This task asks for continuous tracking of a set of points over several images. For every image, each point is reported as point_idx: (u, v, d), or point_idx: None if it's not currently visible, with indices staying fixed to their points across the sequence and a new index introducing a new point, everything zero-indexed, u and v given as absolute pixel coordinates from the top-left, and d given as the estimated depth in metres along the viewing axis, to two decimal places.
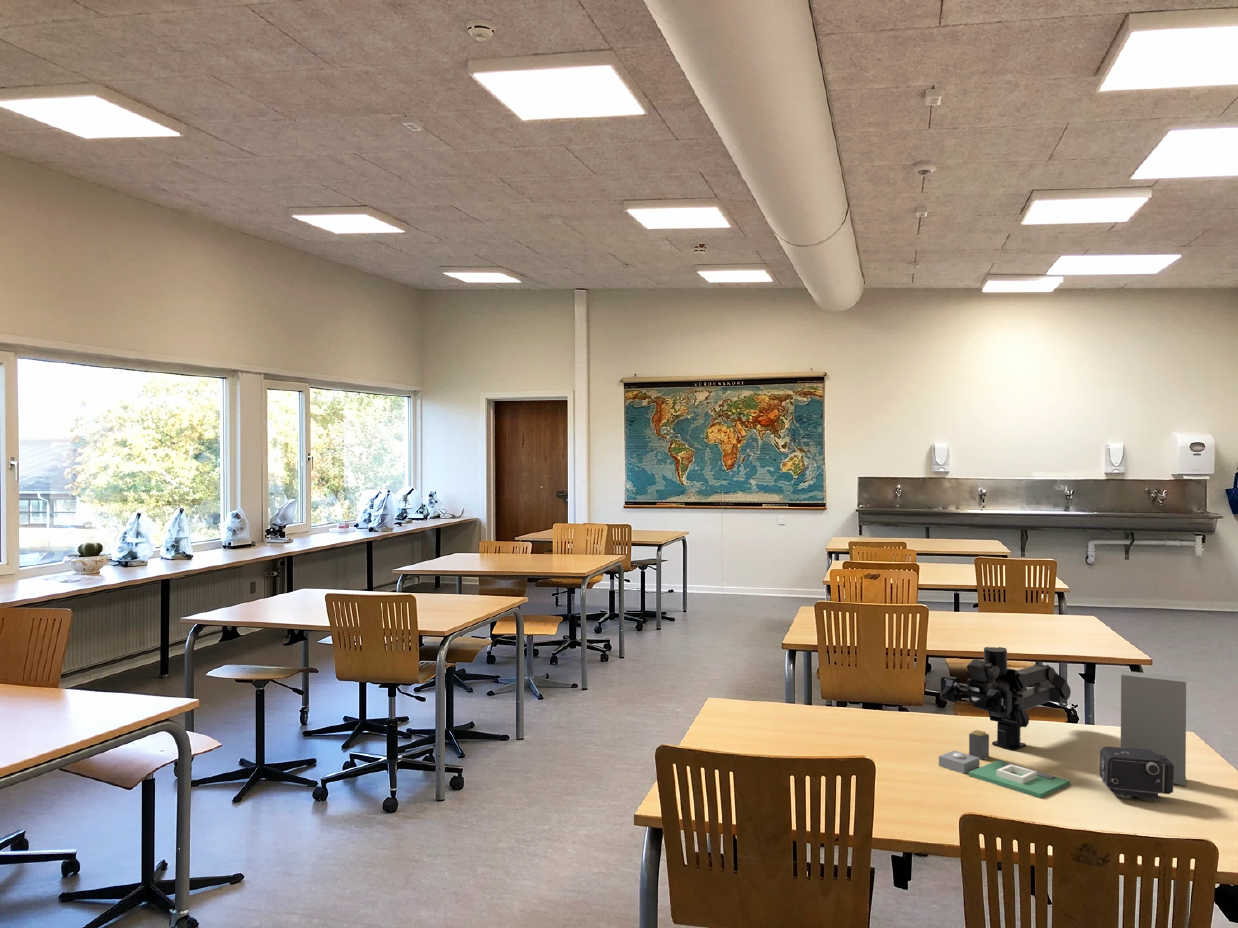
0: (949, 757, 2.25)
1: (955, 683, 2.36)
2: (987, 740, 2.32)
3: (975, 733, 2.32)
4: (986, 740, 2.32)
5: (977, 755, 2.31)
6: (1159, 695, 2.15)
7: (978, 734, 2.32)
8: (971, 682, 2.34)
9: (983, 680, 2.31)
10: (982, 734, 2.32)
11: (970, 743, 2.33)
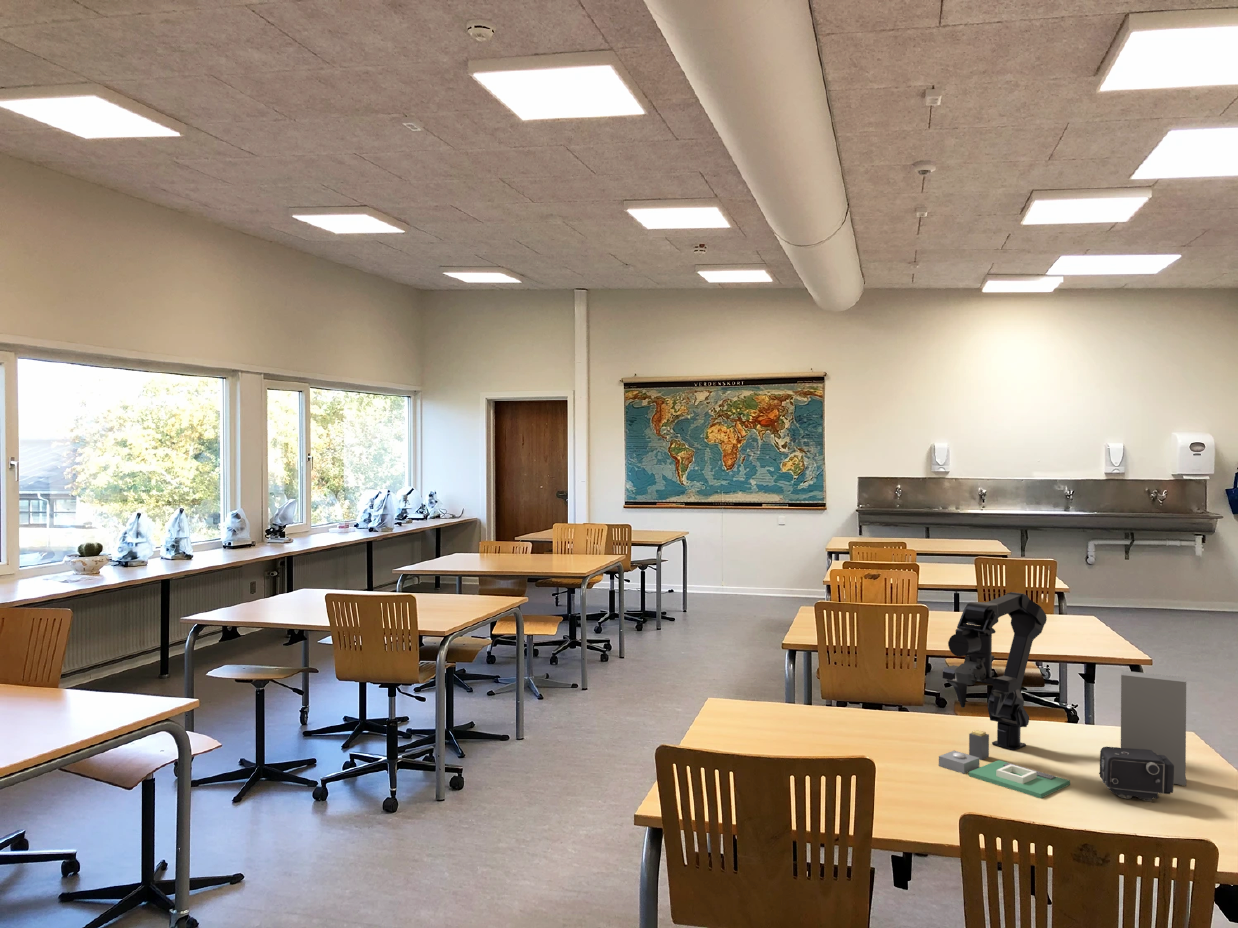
0: (949, 757, 2.25)
1: None
2: (987, 740, 2.32)
3: (975, 733, 2.32)
4: (986, 740, 2.32)
5: (977, 755, 2.31)
6: (1159, 695, 2.15)
7: (978, 734, 2.32)
8: None
9: None
10: (982, 734, 2.32)
11: (970, 743, 2.33)
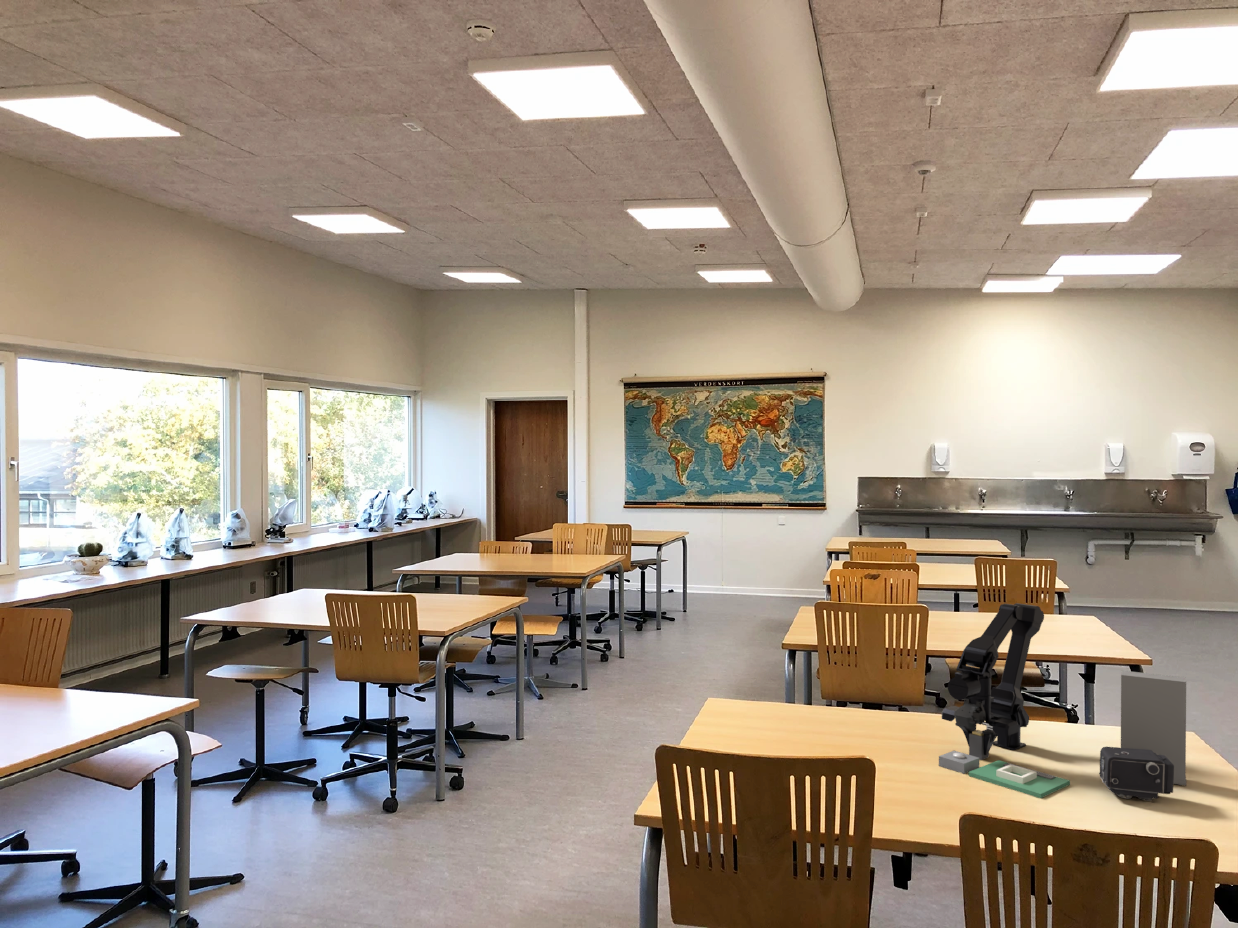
0: (949, 757, 2.25)
1: None
2: None
3: (975, 733, 2.32)
4: None
5: (977, 755, 2.31)
6: (1159, 695, 2.15)
7: (978, 734, 2.32)
8: None
9: None
10: (982, 734, 2.32)
11: (970, 743, 2.33)
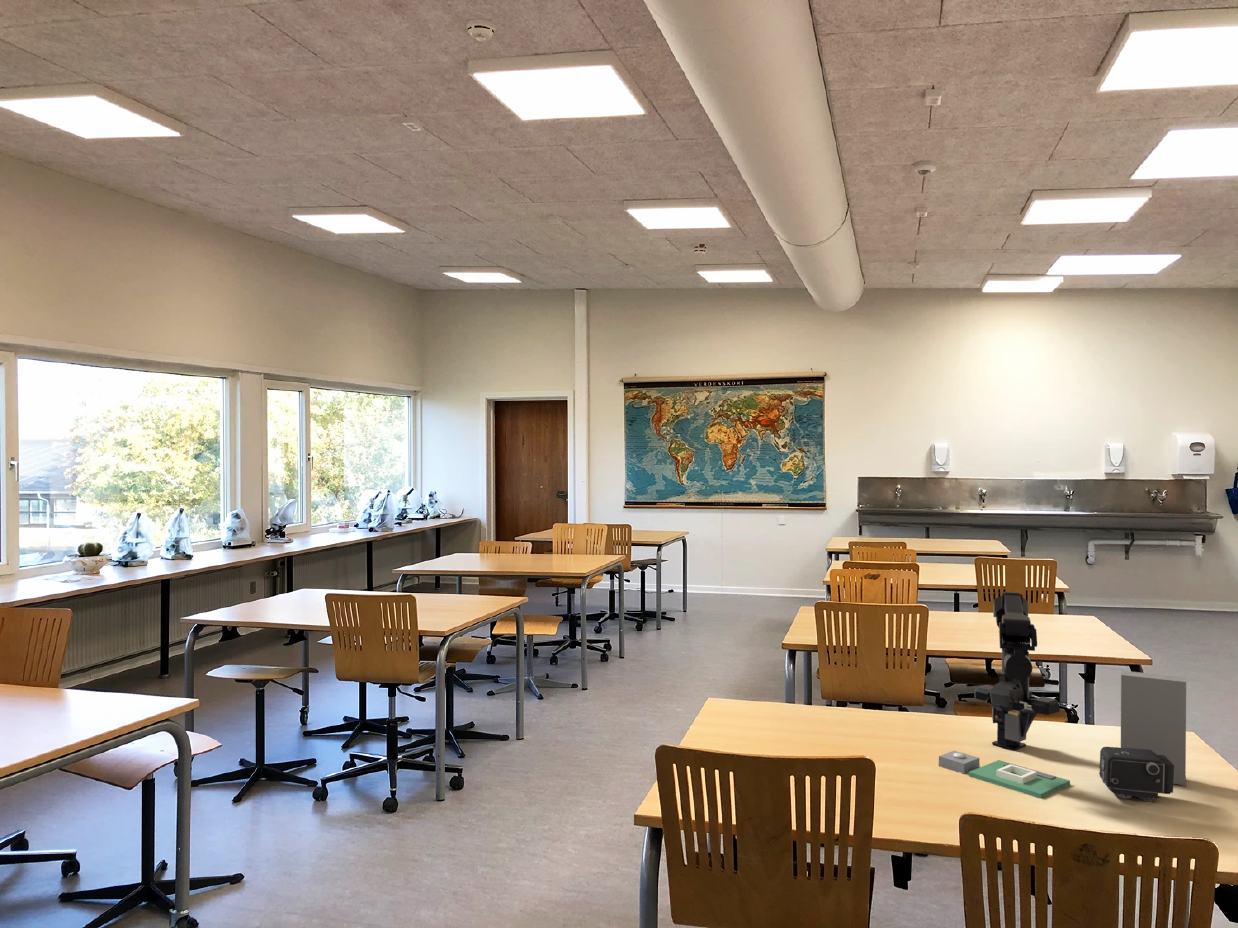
0: (949, 757, 2.25)
1: None
2: None
3: (1011, 713, 2.15)
4: None
5: (1014, 737, 2.14)
6: (1159, 695, 2.15)
7: (1015, 714, 2.14)
8: None
9: None
10: (1019, 714, 2.14)
11: (1006, 724, 2.16)
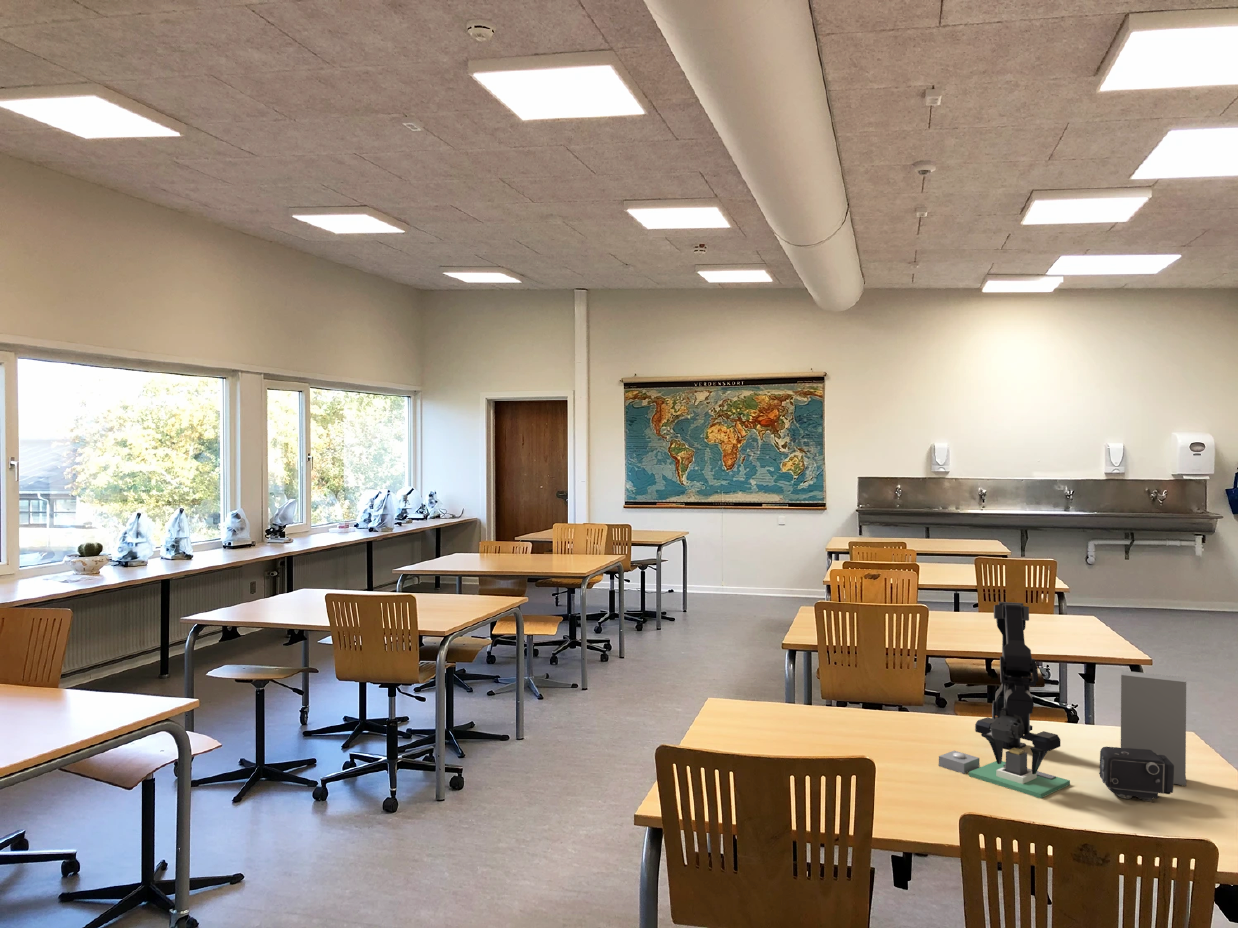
0: (949, 757, 2.25)
1: None
2: (1025, 759, 2.15)
3: (1012, 751, 2.15)
4: (1024, 759, 2.15)
5: None
6: (1159, 695, 2.15)
7: (1016, 752, 2.14)
8: None
9: None
10: (1020, 752, 2.14)
11: (1007, 762, 2.16)
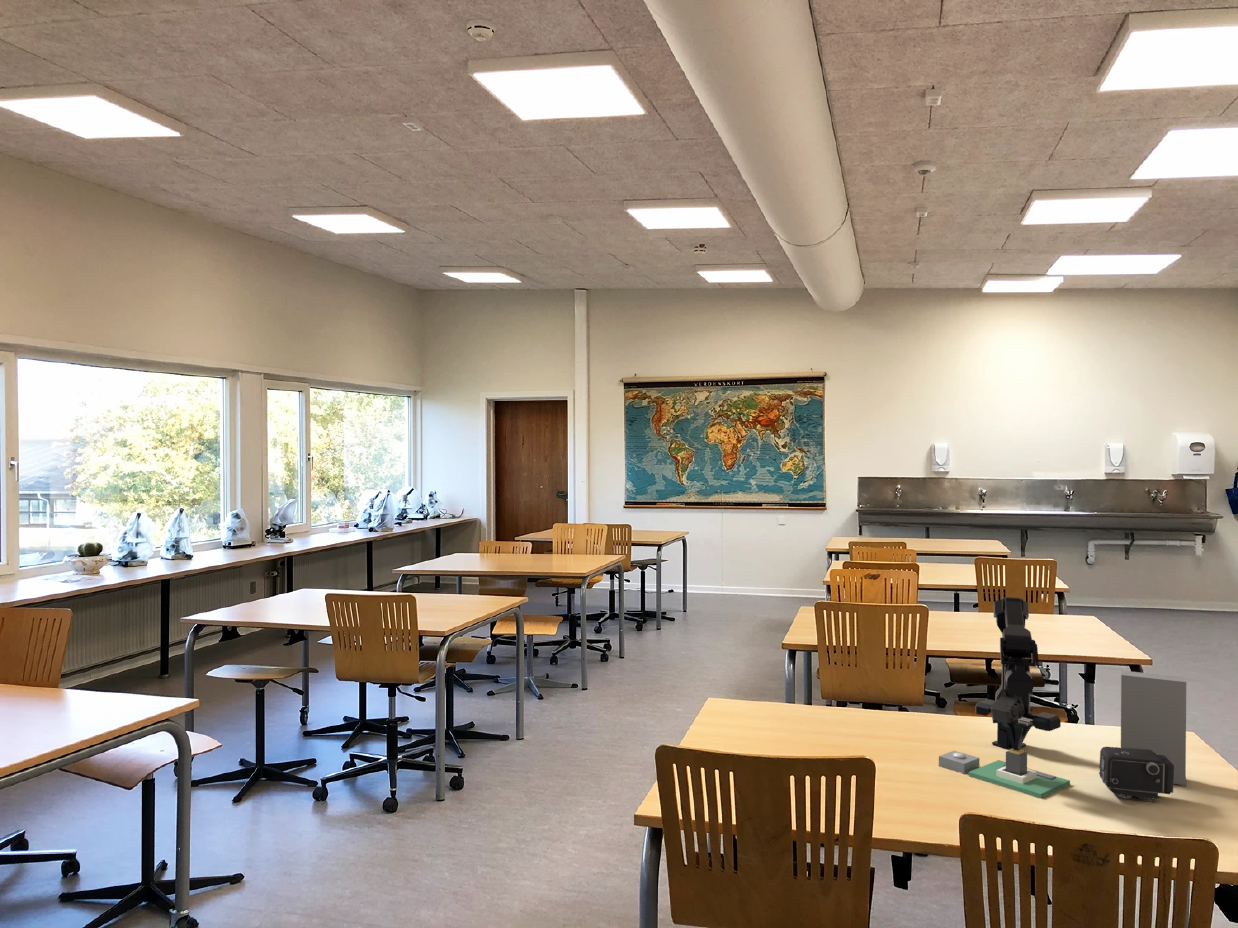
0: (949, 757, 2.25)
1: None
2: (1025, 759, 2.15)
3: (1012, 751, 2.15)
4: (1024, 759, 2.15)
5: None
6: (1159, 695, 2.15)
7: (1016, 752, 2.14)
8: None
9: None
10: (1020, 752, 2.14)
11: (1007, 762, 2.16)
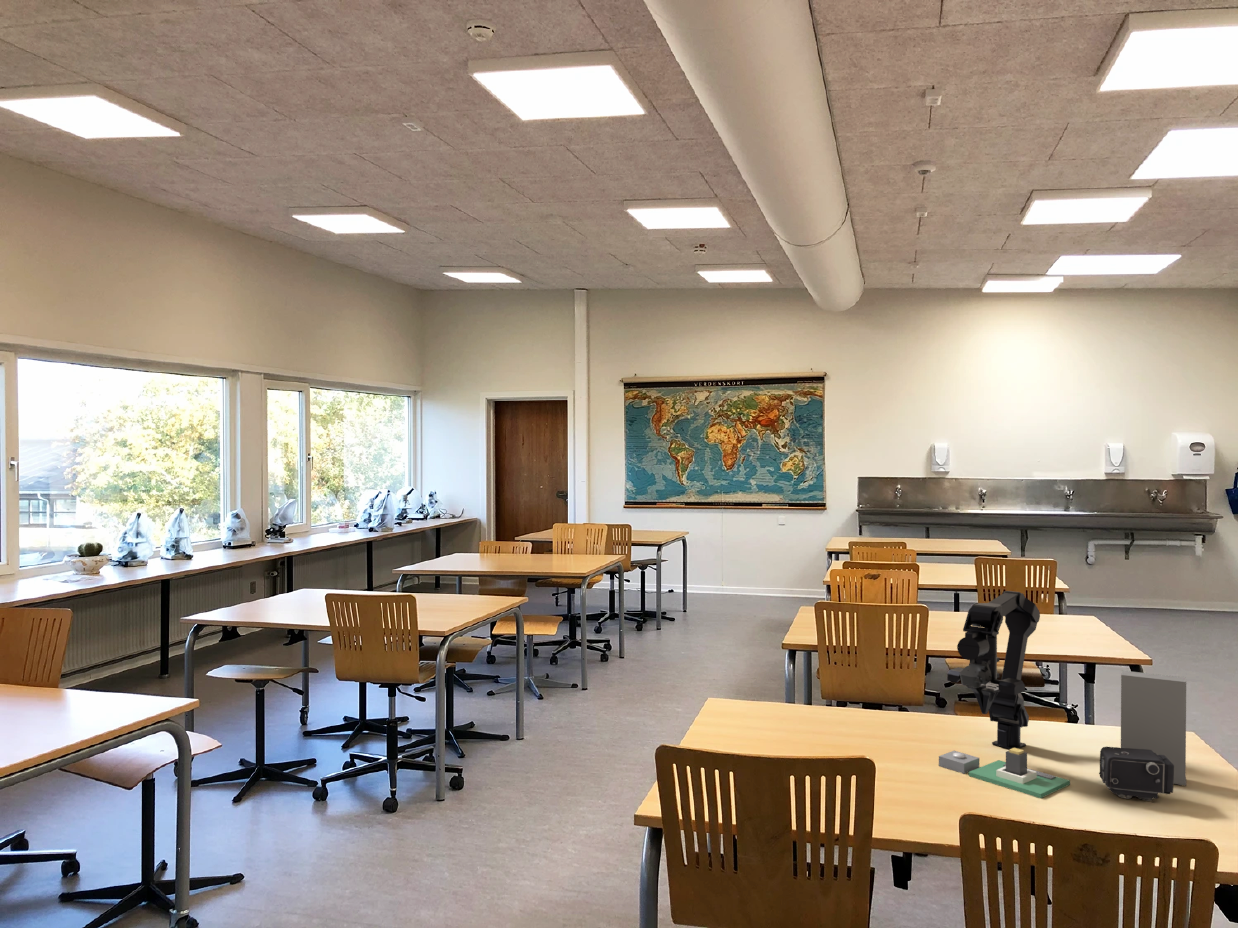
0: (949, 757, 2.25)
1: None
2: (1025, 759, 2.15)
3: (1012, 751, 2.15)
4: (1024, 759, 2.15)
5: None
6: (1159, 695, 2.15)
7: (1016, 752, 2.14)
8: None
9: None
10: (1020, 752, 2.14)
11: (1007, 762, 2.16)
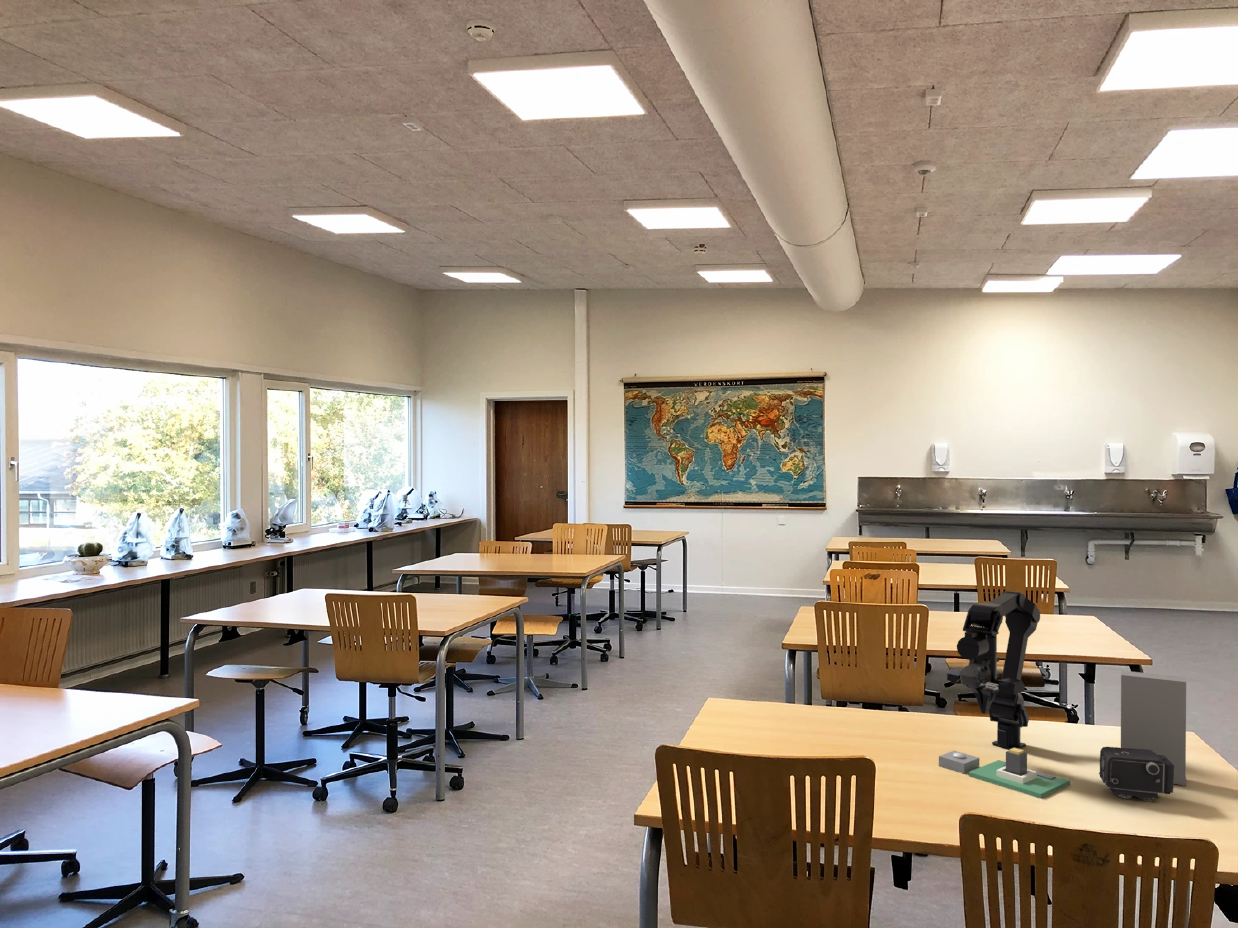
0: (949, 757, 2.25)
1: None
2: (1025, 759, 2.15)
3: (1012, 751, 2.15)
4: (1024, 759, 2.15)
5: None
6: (1159, 695, 2.15)
7: (1016, 752, 2.14)
8: None
9: None
10: (1020, 752, 2.14)
11: (1007, 762, 2.16)
